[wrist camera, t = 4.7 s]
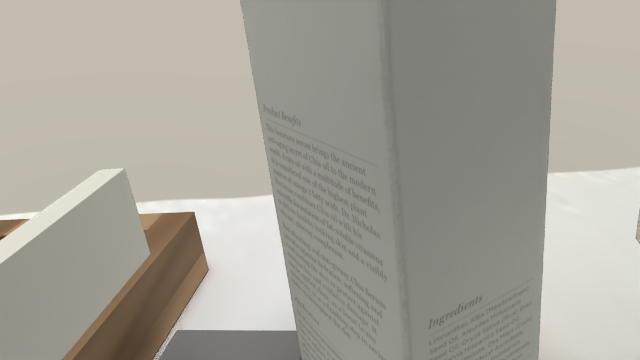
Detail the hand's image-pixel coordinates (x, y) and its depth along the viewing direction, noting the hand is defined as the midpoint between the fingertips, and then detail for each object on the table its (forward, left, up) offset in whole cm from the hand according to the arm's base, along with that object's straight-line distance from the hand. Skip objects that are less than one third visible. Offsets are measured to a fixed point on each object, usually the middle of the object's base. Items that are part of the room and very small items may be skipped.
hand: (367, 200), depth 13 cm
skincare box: (-1, 0, -7) cm, 7 cm away
